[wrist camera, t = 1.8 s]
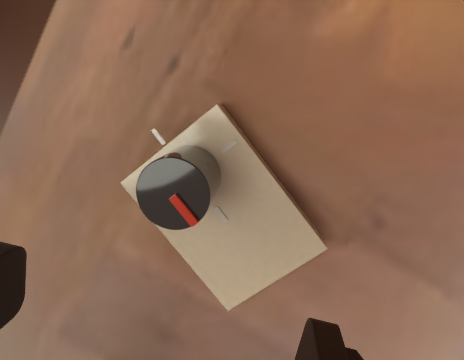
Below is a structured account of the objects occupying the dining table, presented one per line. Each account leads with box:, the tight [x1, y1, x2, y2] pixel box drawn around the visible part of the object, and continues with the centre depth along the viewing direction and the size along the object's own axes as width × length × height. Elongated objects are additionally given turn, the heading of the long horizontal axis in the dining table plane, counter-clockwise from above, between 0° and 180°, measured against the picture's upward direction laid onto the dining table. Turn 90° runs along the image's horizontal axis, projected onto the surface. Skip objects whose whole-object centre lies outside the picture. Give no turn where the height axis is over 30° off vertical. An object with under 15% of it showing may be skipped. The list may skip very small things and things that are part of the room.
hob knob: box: [136, 145, 221, 230], centre depth 23 cm, size 5×5×5 cm
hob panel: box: [120, 103, 327, 311], centre depth 27 cm, size 16×10×2 cm, turn 38°
